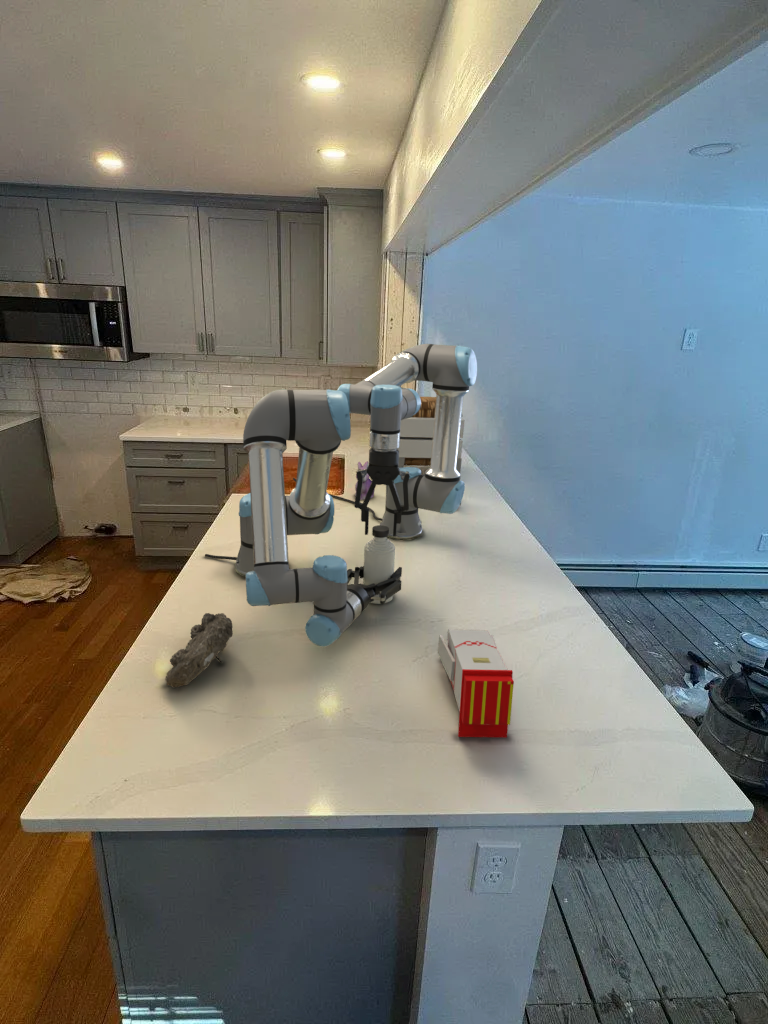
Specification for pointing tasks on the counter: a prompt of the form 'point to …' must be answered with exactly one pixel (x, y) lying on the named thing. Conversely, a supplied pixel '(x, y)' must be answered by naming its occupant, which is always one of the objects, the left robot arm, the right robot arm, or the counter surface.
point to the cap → (380, 531)
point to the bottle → (378, 562)
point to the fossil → (200, 649)
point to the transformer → (422, 436)
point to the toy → (478, 682)
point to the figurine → (364, 482)
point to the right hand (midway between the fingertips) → (380, 533)
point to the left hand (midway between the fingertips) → (385, 568)
